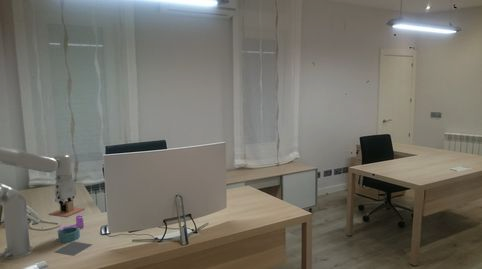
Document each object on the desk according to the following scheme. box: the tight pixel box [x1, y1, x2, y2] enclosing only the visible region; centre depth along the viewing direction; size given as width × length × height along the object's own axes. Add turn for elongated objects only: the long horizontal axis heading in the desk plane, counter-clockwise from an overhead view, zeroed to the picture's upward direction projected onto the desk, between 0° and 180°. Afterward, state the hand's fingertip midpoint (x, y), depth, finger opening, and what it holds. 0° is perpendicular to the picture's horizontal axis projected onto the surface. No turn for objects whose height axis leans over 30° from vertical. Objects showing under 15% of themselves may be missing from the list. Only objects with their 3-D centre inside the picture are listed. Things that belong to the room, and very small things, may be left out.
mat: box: [53, 241, 93, 257], centre depth 176 cm, size 13×13×1 cm
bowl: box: [57, 227, 81, 243], centre depth 188 cm, size 10×10×5 cm
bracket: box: [58, 214, 85, 232], centre depth 203 cm, size 13×6×7 cm, turn 119°
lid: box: [48, 200, 86, 218], centre depth 186 cm, size 12×12×6 cm
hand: (67, 209), depth 186 cm, fingers closed on lid, 3 cm apart
